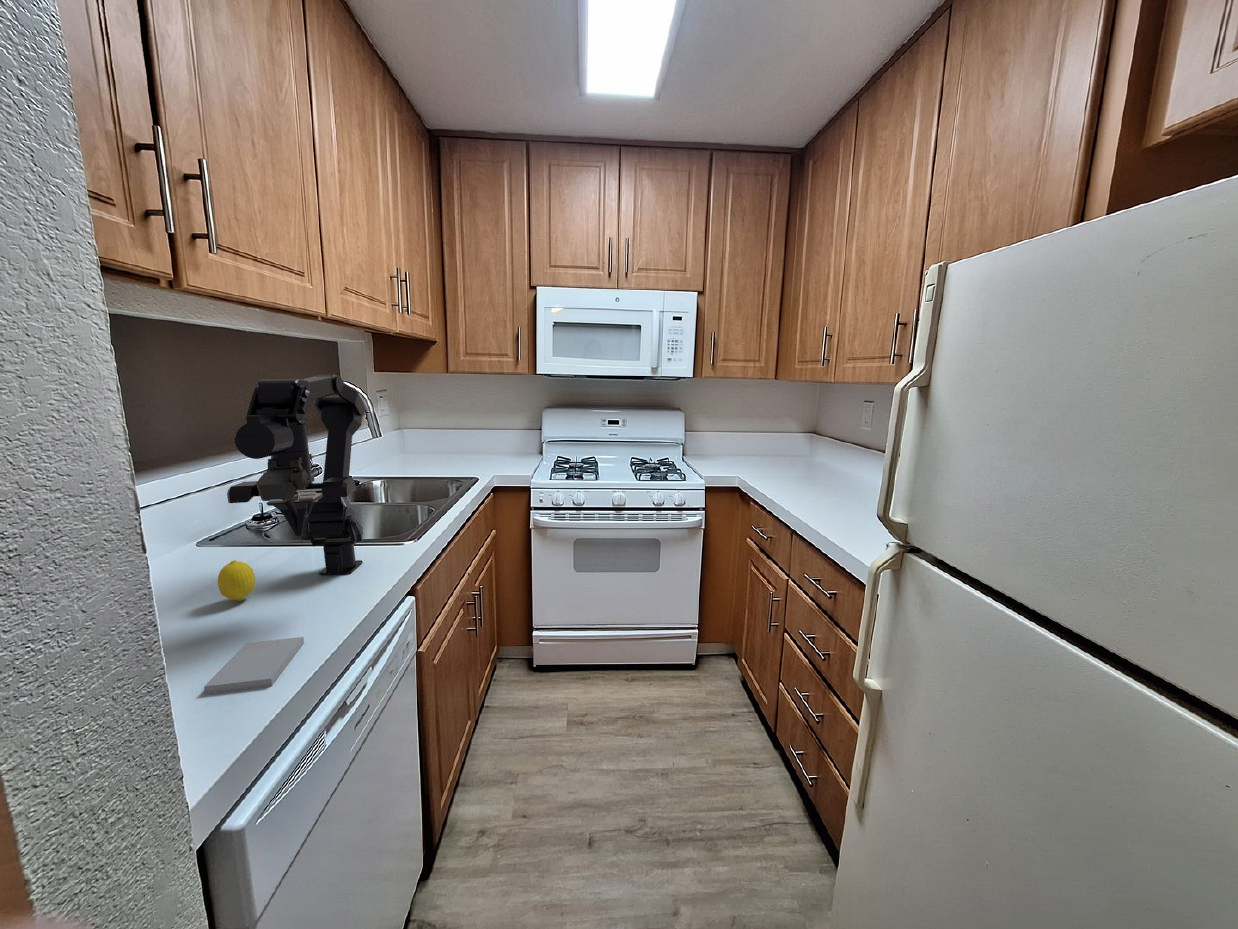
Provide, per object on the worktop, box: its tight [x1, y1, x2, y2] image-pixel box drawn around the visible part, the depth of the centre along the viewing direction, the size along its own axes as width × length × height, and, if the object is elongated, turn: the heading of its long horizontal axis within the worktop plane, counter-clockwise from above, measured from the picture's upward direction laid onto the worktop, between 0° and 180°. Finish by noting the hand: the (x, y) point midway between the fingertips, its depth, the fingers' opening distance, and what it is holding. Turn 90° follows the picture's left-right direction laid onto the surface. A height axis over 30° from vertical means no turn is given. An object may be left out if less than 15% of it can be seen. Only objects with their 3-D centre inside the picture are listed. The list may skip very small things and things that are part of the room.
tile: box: [203, 636, 305, 694], centre depth 72 cm, size 2×8×11 cm
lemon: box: [217, 559, 256, 602], centre depth 92 cm, size 6×6×8 cm
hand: (299, 535), depth 90 cm, fingers closed
